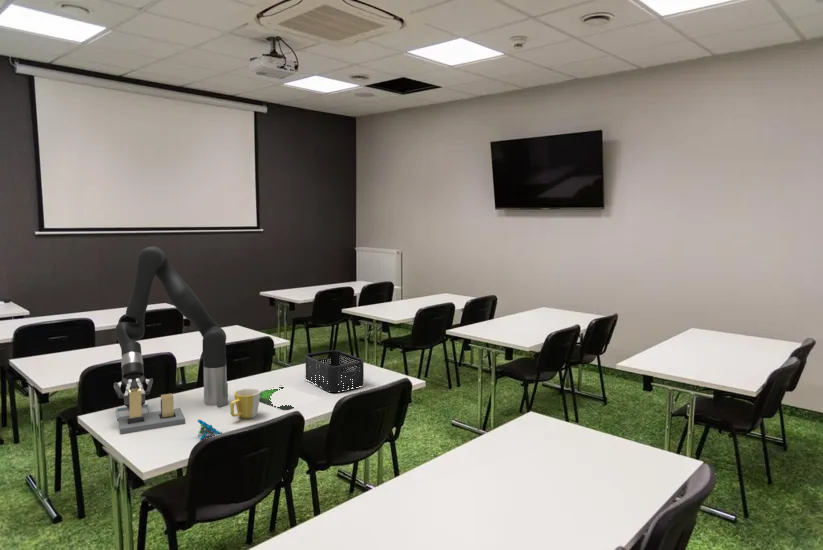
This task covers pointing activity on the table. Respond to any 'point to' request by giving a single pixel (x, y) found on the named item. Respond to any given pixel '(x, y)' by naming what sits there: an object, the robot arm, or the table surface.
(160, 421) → the grey slotted fixture block
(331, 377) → the storage bin
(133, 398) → the brass billet
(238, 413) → the mug
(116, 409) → the light blue tray
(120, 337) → the robot arm
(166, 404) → the seated billet
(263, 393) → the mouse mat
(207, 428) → the blue and green toy
